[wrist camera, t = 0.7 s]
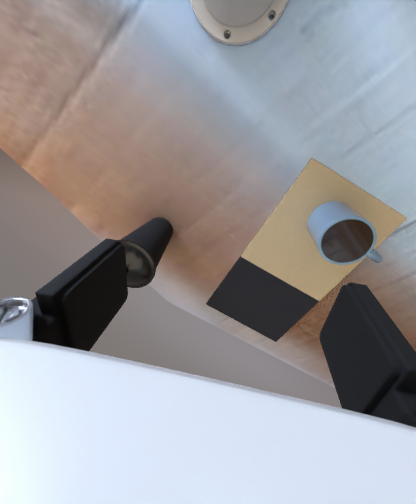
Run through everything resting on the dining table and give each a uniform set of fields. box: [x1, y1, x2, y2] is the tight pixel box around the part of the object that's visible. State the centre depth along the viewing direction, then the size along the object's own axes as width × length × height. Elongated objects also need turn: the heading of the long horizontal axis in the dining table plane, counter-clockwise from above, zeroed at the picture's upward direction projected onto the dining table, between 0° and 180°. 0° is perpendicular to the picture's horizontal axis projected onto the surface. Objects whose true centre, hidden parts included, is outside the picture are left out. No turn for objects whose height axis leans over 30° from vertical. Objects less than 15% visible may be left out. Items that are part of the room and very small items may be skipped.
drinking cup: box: [118, 218, 173, 288], centre depth 37 cm, size 8×8×20 cm
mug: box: [307, 201, 383, 265], centre depth 36 cm, size 10×7×8 cm
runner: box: [206, 158, 407, 341], centre depth 45 cm, size 34×18×1 cm, turn 152°
